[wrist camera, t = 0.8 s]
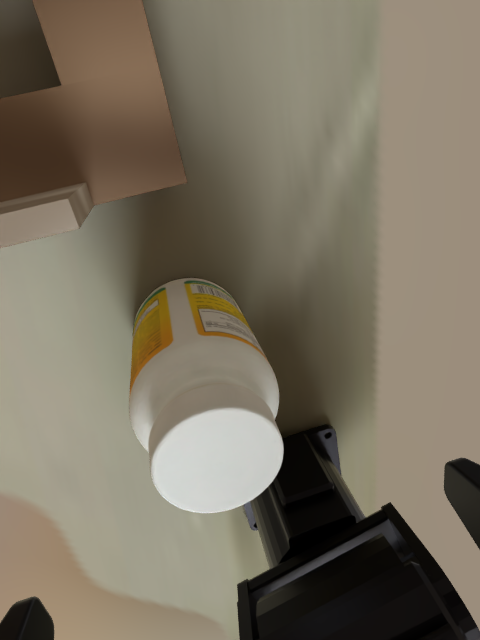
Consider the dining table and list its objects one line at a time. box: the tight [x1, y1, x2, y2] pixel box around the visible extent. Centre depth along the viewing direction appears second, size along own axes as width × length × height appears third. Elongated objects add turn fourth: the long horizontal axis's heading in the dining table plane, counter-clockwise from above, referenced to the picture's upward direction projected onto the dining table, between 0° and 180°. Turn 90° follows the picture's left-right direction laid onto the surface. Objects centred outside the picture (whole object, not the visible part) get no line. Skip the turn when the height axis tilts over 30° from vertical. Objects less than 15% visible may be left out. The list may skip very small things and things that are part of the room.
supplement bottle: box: [129, 278, 284, 513], centre depth 16 cm, size 5×5×10 cm
